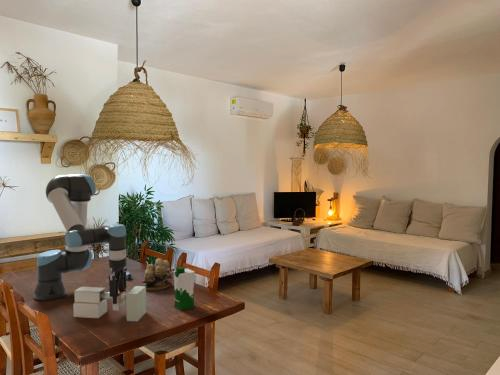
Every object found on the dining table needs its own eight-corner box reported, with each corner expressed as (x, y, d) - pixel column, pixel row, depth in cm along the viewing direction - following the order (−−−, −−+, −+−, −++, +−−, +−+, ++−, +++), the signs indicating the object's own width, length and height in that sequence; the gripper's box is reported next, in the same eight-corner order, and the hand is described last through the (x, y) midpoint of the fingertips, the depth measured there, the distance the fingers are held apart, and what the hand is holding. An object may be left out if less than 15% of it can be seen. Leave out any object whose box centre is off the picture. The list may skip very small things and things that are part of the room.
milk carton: (172, 306, 187) (171, 266, 186) (188, 302, 193) (187, 263, 191) (180, 312, 180) (180, 270, 179) (197, 307, 186) (196, 267, 184)
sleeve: (73, 316, 174) (73, 291, 173) (83, 310, 182) (82, 285, 181) (98, 318, 173) (97, 292, 172) (107, 311, 181) (106, 286, 180)
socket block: (126, 320, 170) (126, 293, 169) (136, 311, 180) (135, 286, 179) (137, 321, 169) (137, 293, 169) (146, 312, 179) (145, 286, 178)
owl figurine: (167, 282, 225) (167, 253, 224) (177, 287, 216) (177, 257, 215) (138, 288, 213) (138, 258, 212) (148, 294, 205) (147, 263, 203)
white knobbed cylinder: (124, 274, 227) (109, 260, 245) (124, 285, 228) (109, 270, 246) (133, 272, 230) (117, 259, 249) (132, 283, 231) (117, 268, 250)
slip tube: (91, 301, 174) (91, 292, 174) (96, 298, 179) (96, 289, 179) (130, 303, 172) (130, 294, 172) (134, 300, 177) (134, 291, 176)
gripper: (116, 263, 165) (117, 316, 166) (133, 253, 182) (134, 301, 184) (100, 263, 166) (101, 315, 167) (118, 253, 183) (119, 300, 185)
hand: (118, 307), depth 175 cm, fingers closed on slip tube, 4 cm apart
